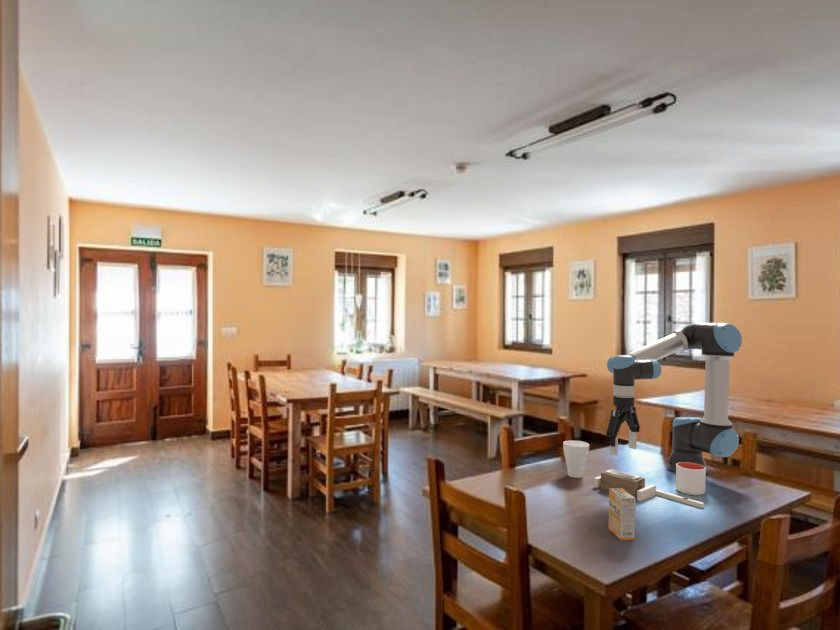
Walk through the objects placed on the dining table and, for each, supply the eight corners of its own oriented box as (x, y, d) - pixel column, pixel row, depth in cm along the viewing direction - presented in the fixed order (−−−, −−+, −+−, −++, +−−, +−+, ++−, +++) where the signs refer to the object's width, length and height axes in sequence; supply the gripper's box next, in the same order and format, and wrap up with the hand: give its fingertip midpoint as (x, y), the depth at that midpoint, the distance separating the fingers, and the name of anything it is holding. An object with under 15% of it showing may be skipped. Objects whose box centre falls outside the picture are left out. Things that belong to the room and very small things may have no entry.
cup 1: (591, 474, 216) (592, 442, 216) (585, 481, 207) (585, 448, 207) (566, 470, 222) (567, 439, 222) (559, 476, 213) (559, 444, 213)
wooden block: (610, 485, 204) (610, 467, 204) (644, 495, 193) (645, 476, 193) (600, 489, 199) (601, 470, 199) (635, 499, 188) (635, 480, 188)
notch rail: (610, 480, 209) (610, 471, 209) (703, 507, 181) (704, 497, 181) (593, 486, 201) (593, 477, 201) (688, 515, 173) (688, 505, 173)
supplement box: (607, 529, 162) (608, 487, 162) (622, 528, 162) (622, 487, 162) (619, 541, 154) (620, 497, 153) (635, 540, 154) (636, 497, 154)
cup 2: (709, 497, 191) (709, 470, 191) (680, 495, 193) (680, 468, 193) (700, 488, 201) (700, 463, 201) (672, 486, 203) (672, 461, 203)
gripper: (631, 391, 207) (631, 444, 207) (596, 398, 191) (596, 455, 191) (649, 393, 201) (649, 447, 201) (615, 401, 185) (614, 459, 185)
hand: (623, 451), depth 196 cm, fingers open, 13 cm apart
